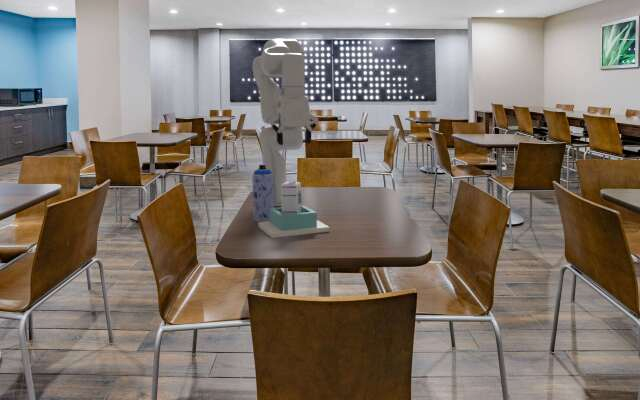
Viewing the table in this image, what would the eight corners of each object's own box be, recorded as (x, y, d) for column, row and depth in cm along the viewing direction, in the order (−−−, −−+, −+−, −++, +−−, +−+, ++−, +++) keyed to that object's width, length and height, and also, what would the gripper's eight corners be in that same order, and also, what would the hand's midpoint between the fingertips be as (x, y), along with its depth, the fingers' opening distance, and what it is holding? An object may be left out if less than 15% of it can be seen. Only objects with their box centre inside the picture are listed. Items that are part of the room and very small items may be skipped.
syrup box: (298, 227, 180) (298, 184, 177) (281, 226, 181) (280, 183, 178) (302, 222, 186) (301, 181, 183) (285, 222, 187) (284, 181, 184)
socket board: (258, 226, 187) (257, 208, 186) (311, 220, 194) (311, 203, 193) (272, 238, 173) (271, 218, 171) (329, 231, 180) (329, 212, 179)
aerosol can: (250, 217, 200) (248, 164, 196) (270, 215, 203) (269, 163, 199) (256, 222, 193) (254, 167, 189) (277, 220, 196) (276, 165, 192)
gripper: (271, 92, 171) (272, 146, 175) (321, 92, 177) (322, 143, 181) (265, 92, 178) (266, 143, 182) (313, 91, 184) (314, 141, 188)
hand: (294, 143), depth 181 cm, fingers open, 9 cm apart
